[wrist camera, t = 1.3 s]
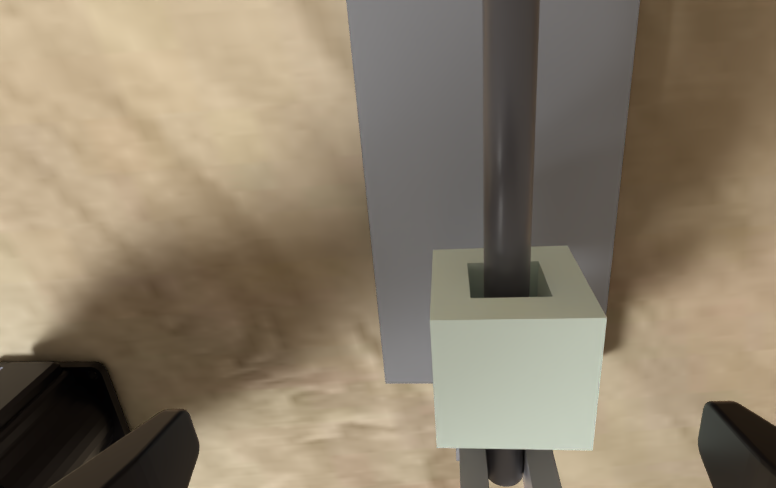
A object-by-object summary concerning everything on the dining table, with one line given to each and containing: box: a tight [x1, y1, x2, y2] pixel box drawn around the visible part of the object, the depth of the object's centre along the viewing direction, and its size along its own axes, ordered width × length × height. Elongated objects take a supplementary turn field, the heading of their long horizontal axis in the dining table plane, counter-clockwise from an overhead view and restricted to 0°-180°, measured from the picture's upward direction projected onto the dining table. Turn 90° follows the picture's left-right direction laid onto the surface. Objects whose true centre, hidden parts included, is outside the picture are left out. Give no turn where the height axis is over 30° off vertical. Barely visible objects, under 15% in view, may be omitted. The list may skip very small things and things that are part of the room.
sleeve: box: [430, 246, 607, 450], centre depth 14 cm, size 4×4×4 cm
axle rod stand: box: [346, 0, 640, 488], centre depth 15 cm, size 22×9×9 cm, turn 5°
